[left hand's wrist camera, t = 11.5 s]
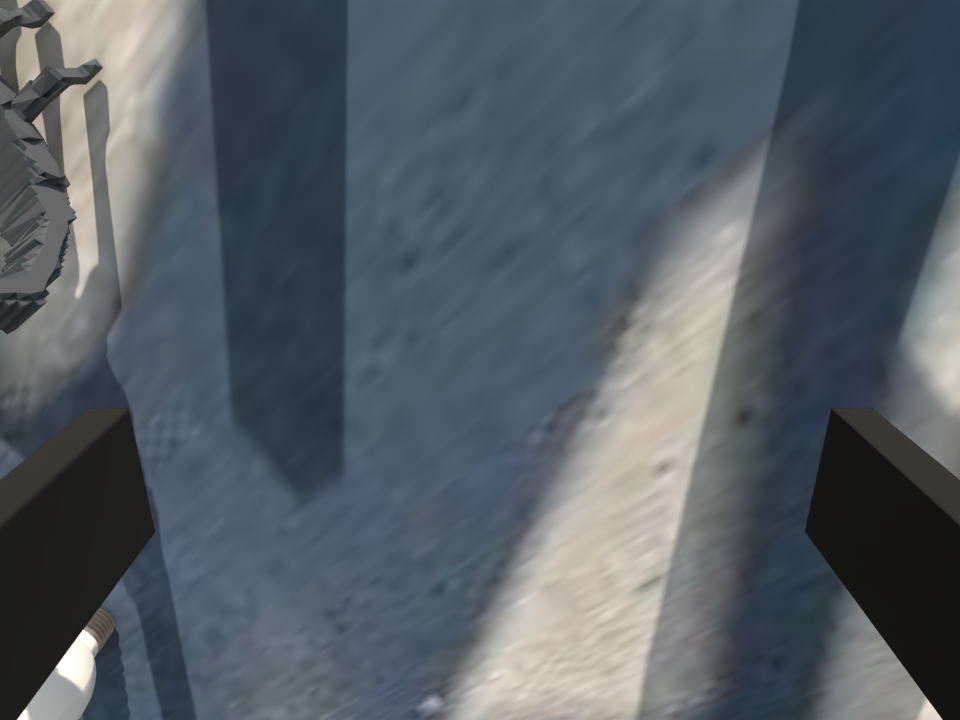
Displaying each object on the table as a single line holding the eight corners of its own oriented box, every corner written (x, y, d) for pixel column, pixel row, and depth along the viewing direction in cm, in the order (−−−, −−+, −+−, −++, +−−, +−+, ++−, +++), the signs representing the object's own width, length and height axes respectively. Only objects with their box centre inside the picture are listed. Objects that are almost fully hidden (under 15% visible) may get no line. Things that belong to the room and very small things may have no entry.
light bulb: (115, 584, 52) (26, 705, 42) (143, 651, 55) (65, 780, 45) (31, 594, 53) (-77, 716, 42) (62, 659, 55) (-32, 790, 45)
